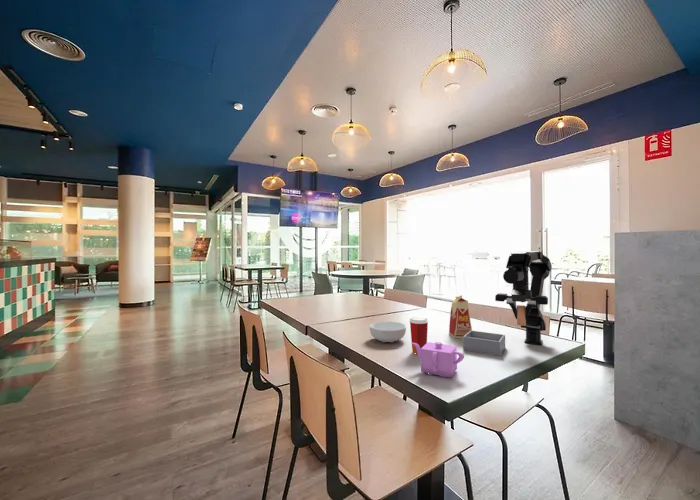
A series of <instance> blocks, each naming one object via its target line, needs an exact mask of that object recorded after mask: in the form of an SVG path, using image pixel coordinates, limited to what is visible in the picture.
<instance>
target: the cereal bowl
mask: <svg viewBox="0 0 700 500" xmlns="http://www.w3.org/2000/svg"><path fill="white" fill-rule="evenodd" d="M369 332H370V335H371V336H372V338H374V339H376V340H378V341H380V342H381V341H383V342H382V343H384V342H393V343H395V342H394V341H396V342H397V341H399V340H401V339H403V338H404V336H405V335H406V332H407V327H406V325H405V324H404V323H402V322H398V321H387V320H385V321H378V322H373V323H371V324H370V325H369Z"/></svg>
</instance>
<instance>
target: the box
mask: <svg viewBox="0 0 700 500" xmlns="http://www.w3.org/2000/svg"><path fill="white" fill-rule="evenodd" d="M462 344H463V345H462V349H463V351H469V352H475V353H480V354H486V355H493V356H497V357H501V356H502V354H503V353H504V351H505V349H506V334H501V333H493V332H488V331H487V332H486V331H478V330H473V329H472V330H470V331H469V332H468V333H467V334H466V335H464V336H463V338H462Z"/></svg>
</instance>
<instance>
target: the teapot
mask: <svg viewBox="0 0 700 500" xmlns="http://www.w3.org/2000/svg"><path fill="white" fill-rule="evenodd" d="M412 344H413V345H414V346H415V347H416V349H417V353H418V354H417V356H418V358H419V360H420V372H421V373H426V374H427V373H429V374H433V375H437V376H441V377H442V378H444V377H446V378H452V377H453V376H454V374H455V372H456V370H457V369H458V364H459V363H460V362H462V361H463V360H464V358H465V354H463V353H462V352H460V351H458V350H457V345H451V344H446V343H445V344H444V343H442V342H440V341H438V342H429V341H427V343H426V344H425V345H424V346H423V347H422V348H421V349H420V346H419V345H418V344H417V343H412V342H411V345H412ZM429 374H428V375H429Z"/></svg>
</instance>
